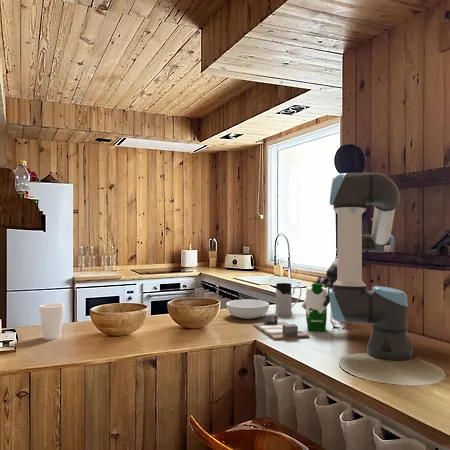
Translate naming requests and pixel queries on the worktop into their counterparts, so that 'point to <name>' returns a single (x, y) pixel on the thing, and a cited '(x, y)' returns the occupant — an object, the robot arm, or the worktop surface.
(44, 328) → the foam cup
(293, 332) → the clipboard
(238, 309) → the serving bowl
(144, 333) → the worktop surface
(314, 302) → the soya milk
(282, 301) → the white pitcher
